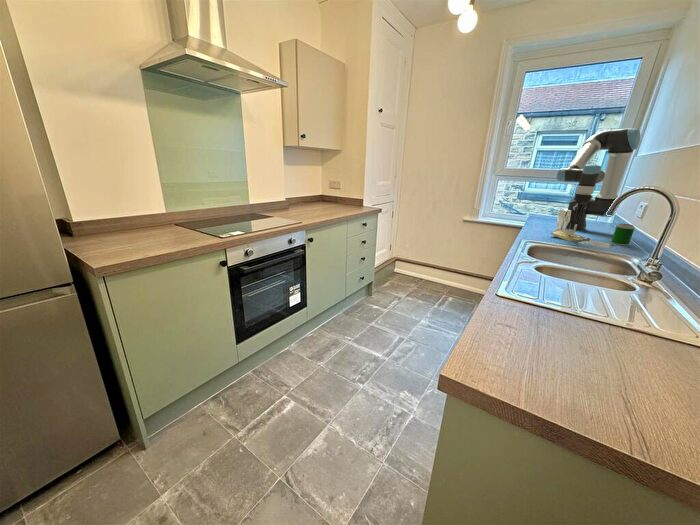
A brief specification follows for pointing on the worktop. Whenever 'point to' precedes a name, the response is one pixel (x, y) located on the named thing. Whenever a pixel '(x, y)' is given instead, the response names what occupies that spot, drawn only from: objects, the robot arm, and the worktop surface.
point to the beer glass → (563, 219)
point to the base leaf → (596, 243)
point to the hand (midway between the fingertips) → (570, 234)
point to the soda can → (623, 234)
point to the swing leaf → (569, 236)
